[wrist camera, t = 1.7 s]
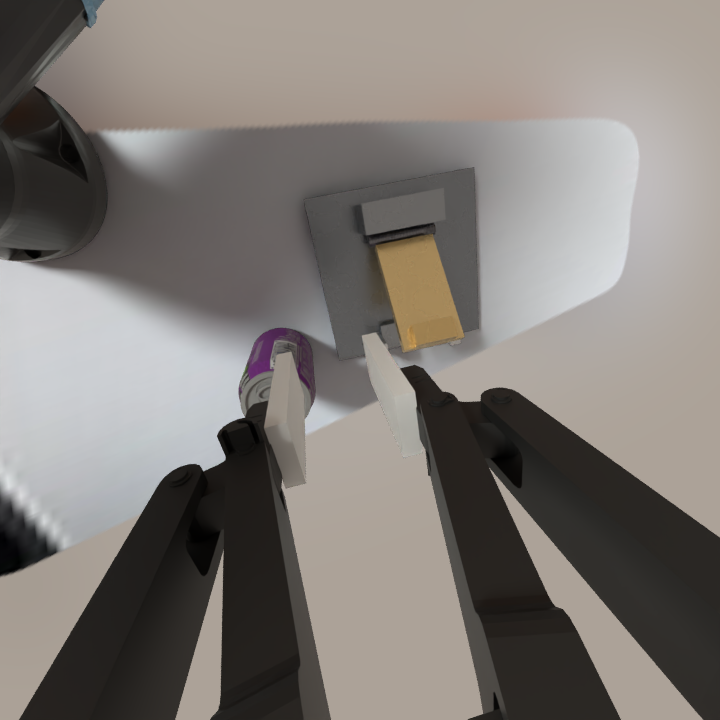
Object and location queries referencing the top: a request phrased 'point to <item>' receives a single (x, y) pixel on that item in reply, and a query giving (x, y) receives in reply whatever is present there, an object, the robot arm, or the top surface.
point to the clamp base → (359, 262)
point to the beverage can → (263, 362)
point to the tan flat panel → (416, 287)
